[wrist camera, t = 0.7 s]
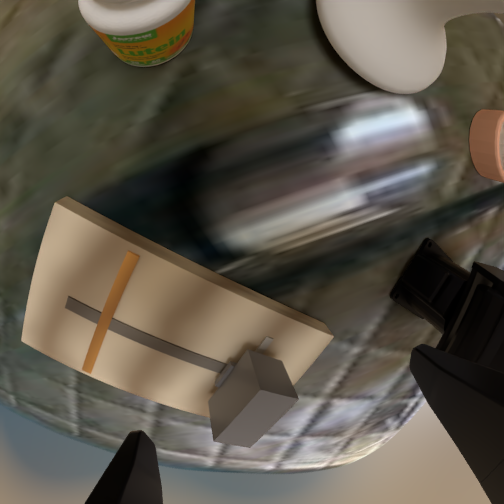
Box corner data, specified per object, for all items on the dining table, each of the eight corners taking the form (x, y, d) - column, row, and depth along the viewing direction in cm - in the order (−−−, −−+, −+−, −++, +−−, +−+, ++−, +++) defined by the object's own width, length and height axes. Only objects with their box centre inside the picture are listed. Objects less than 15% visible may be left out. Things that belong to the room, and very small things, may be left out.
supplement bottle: (124, 82, 15) (67, 33, 6) (102, 19, 13) (49, -52, 4) (204, 49, 15) (221, -26, 7) (179, -11, 13) (179, -101, 4)
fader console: (324, 323, 24) (335, 338, 22) (250, 412, 27) (254, 429, 25) (66, 196, 17) (53, 203, 15) (30, 327, 19) (20, 342, 17)
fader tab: (283, 357, 22) (302, 399, 18) (242, 406, 23) (253, 448, 19) (242, 343, 20) (256, 388, 16) (204, 395, 22) (209, 440, 18)
